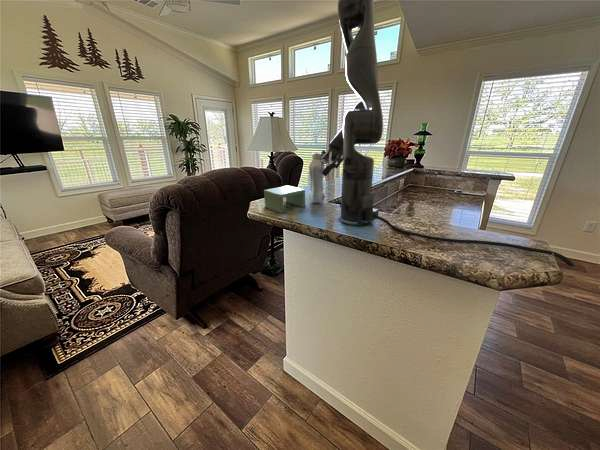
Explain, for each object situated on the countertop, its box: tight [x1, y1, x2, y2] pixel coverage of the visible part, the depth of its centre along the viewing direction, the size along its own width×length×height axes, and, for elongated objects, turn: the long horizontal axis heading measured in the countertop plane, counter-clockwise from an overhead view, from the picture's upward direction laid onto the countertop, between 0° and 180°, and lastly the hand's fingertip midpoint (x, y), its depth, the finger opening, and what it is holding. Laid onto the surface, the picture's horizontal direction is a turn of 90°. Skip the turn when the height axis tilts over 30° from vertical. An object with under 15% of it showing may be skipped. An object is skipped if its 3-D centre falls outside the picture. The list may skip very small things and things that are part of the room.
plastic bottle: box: [308, 152, 326, 204], centre depth 95 cm, size 6×7×20 cm
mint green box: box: [263, 184, 306, 214], centre depth 93 cm, size 11×12×7 cm
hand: (318, 173), depth 95 cm, fingers open, 8 cm apart
